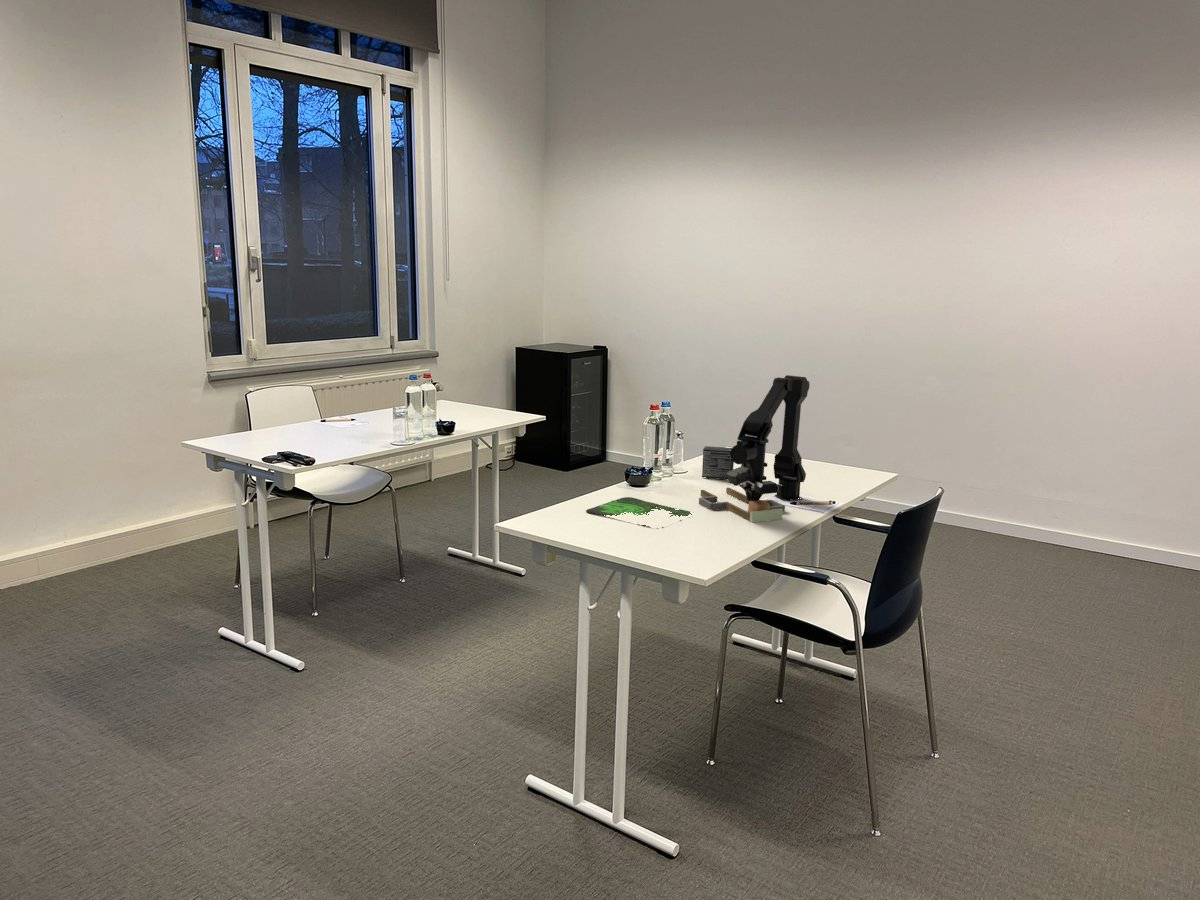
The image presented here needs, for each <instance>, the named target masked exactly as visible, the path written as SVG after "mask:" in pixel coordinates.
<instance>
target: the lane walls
mask: <svg viewBox="0 0 1200 900" xmlns="http://www.w3.org/2000/svg"><path fill="white" fill-rule="evenodd" d="M725 493H727V495H728V496H730V495H731V496H730V497H732V496H733V497H732V498H734V497H735V498H734V499H736V498H737V500H738V499H739V500H738V501H740V500H741V501H740V502H742V501H743V502H742V503H744V502H745V503H744V504H746V503H747V504H746V505H748V500H747V496H746V494H743V493H742V492H740V491H737V490H735V489H733V488H731V487H726V489H725ZM709 496H714V497H715V499H714V502H715V503H716V502H718V496H717V495H715V494H713V493H711V492H709V491H707V490H705V489H701V490H700V497H709ZM725 502H726V509H725V510H727V511H728V512H731V513H732V512H733V514H734V513H735V514H734V515H737V516H738V517H740V518H742V519H744V520H746V521H748V522H750V513H749V512H748V510H747V511H746V510H745V509H743V508H741V507H739V506H738V505H737V506H736V505H735V504H733V503H731V502H728V501H725ZM772 509H773V508H771V507H770V510H772Z"/></svg>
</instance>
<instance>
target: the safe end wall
mask: <svg viewBox="0 0 1200 900" xmlns="http://www.w3.org/2000/svg"><path fill="white" fill-rule="evenodd" d="M782 512H783V509H772V510H762V511H752V512H750V521H749V522H750V523H757V522H758V523H759V522H768V521H769V522H771V521H777V520H783V513H784V512H783V513H782Z"/></svg>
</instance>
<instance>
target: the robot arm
mask: <svg viewBox="0 0 1200 900" xmlns="http://www.w3.org/2000/svg"><path fill="white" fill-rule="evenodd" d="M809 389H810V381H809V380H808V379H807V377H806V376H799V375H791V374H790V375H788V374H786V375H785V376H784V377H778V376H777V377H774V379H773V381H772V385H771V387H770V389H769V390H768V392H767V394H766V395H765V396H764V398H763V400H762V402H761V404H760V405H759V407H758V408H757V409H756V410H754V411H752V412H750V414H749V415H748V416H747V417H746V418H745V420H744V421H743V424H742V426H741V429H740V431H739V433H738V436H737V440H736V444H735V445H734V446H732V447H731V448H732V449H731V451H730V457H731V459H732V461H733V462H734V464H736V465H740V466H739V467H736V468H733V470H731V471H729V472H727V477H728V480H727V481H728V484H731V485H733V486H735V487H737V486H739V487H740V488H741V489H742V490H744V492H745V495H746V496H747V500H748V504H749V501H755V500H761V498H762V496H763V495H768V494H775V495H774V496H775V497H776V496H777V497H776V498H778V497H779V499H781V498H782V499H781V500H783V499H784V500H783V501H785V500H789V501H791V500H790V499H798V498H799V499H800V498H802V499H803V497H802V496H800V495H801V494H800V493H801V483H804V482H805V481H806V477H807V473H806V471H805V469H804V467H803V465H802V461H803V460H802V456H801V454H800V452H799V450H798V444H799V433H800V431H799V429H800V421H801V412H802V411H801V409H802V408H801V407H802V404H803V403H804V401H805V399H806V398H807V397H808V393H809ZM782 402H784V404H785V405H784V414H783V415H784V418H783V427H782V428H783V430H782V440H781V448H780V450H779V452H778V453H776V454H775V455H774V463H773V474H774V479H777V480H778V483H776V482H774V481H772V480H767V476H766V475H764V473H765V468H766V467H768V462H766V461H765V460H766V450H767V449H766V446H767V443H769V440H770V439H768V437H769V435H770V434H771V431H772V429H773V426H774V425H773V424H774V423H773V417H774V416H775V414H776V412H777V411H778V409H779V407H780V405H781V404H782ZM800 500H801V499H800ZM748 504H747V505H748Z"/></svg>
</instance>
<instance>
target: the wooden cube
mask: <svg viewBox="0 0 1200 900" xmlns="http://www.w3.org/2000/svg"><path fill="white" fill-rule="evenodd" d="M763 500H764V499H759V500H755V501H749V505H748V510H747V512H749V513H750V512H752V511H762V510H770V504H769V503H767V502H765V501H763Z"/></svg>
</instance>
